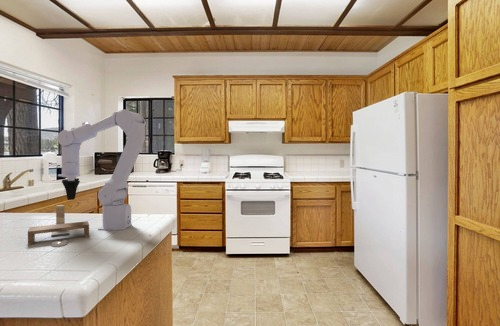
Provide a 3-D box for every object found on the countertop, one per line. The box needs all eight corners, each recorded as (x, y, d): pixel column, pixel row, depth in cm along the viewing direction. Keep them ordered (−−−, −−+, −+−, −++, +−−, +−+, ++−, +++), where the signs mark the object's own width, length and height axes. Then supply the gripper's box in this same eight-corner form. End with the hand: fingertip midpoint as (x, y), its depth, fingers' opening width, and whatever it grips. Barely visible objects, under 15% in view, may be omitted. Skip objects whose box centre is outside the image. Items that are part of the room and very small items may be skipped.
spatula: (52, 229, 103) (52, 205, 103) (68, 227, 106) (68, 204, 106) (51, 237, 93) (50, 210, 93) (69, 235, 96) (69, 209, 96)
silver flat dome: (69, 243, 88) (69, 240, 88) (63, 247, 84) (63, 244, 84) (55, 243, 88) (55, 240, 87) (48, 247, 84) (48, 244, 84)
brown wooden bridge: (87, 232, 99) (87, 221, 99) (89, 236, 94) (89, 224, 94) (30, 239, 90) (29, 227, 90) (27, 244, 85) (27, 231, 85)
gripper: (58, 162, 112) (58, 196, 112) (57, 163, 100) (57, 201, 100) (79, 162, 116) (79, 195, 116) (80, 163, 104) (81, 200, 104)
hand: (71, 198), depth 108 cm, fingers open, 7 cm apart
